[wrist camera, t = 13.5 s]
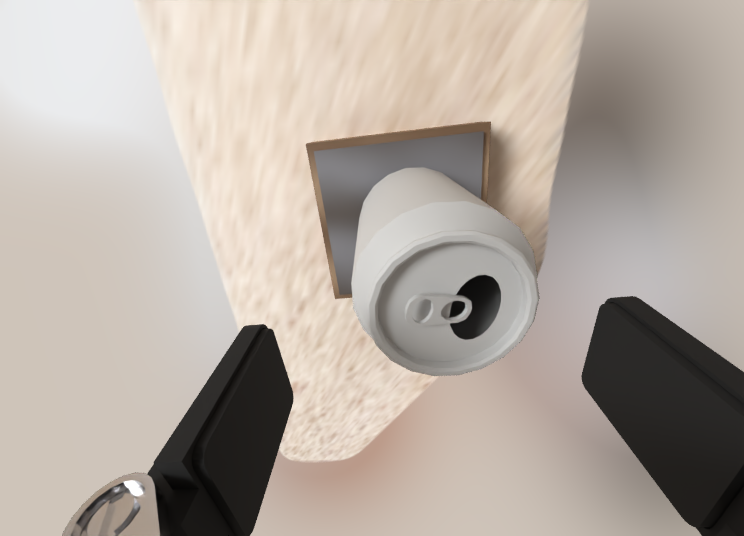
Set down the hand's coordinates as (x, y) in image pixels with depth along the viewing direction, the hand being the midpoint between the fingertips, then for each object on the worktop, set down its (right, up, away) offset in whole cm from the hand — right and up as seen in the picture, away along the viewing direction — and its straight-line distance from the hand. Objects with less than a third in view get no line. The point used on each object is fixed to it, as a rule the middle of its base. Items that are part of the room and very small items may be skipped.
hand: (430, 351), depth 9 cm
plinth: (+1, +7, +16) cm, 17 cm away
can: (+1, +6, +13) cm, 14 cm away
